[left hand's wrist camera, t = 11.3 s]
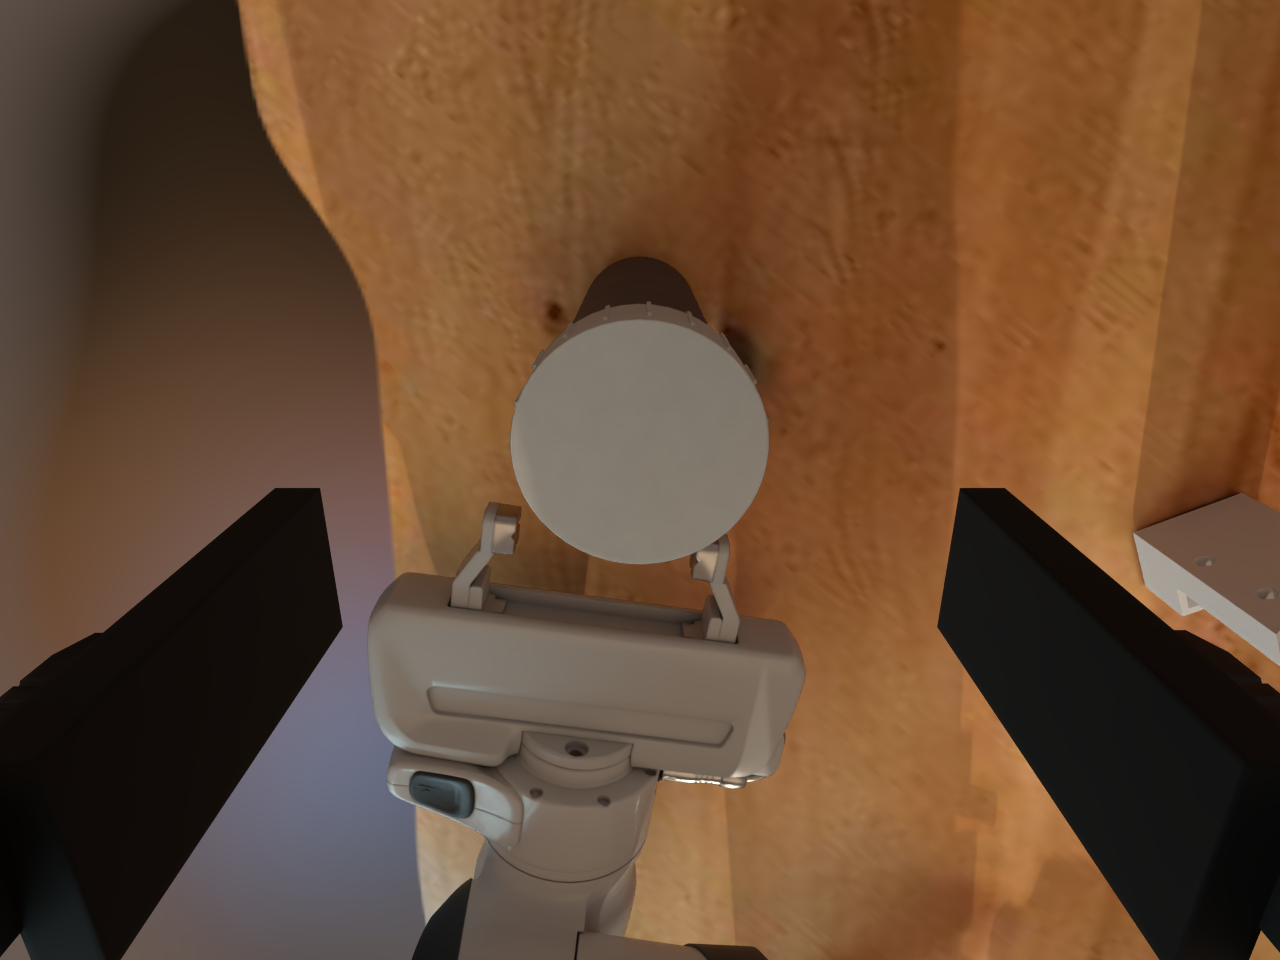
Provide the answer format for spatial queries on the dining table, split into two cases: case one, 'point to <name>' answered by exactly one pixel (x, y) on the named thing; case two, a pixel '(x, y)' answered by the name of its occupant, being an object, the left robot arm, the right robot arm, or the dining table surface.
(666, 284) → the dark grey thermos bottle
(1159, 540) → the white angled block
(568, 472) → the lid
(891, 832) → the dining table surface
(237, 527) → the left robot arm
